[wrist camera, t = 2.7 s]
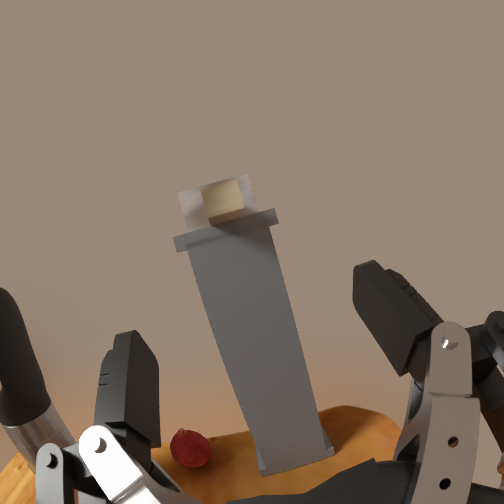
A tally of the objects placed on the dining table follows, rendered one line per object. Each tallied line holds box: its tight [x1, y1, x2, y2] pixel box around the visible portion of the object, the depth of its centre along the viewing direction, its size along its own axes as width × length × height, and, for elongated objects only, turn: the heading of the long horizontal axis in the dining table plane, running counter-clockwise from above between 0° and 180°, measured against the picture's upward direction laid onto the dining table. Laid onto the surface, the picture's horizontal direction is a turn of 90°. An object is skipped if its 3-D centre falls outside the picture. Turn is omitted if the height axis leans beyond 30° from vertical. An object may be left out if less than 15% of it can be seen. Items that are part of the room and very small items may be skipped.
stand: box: [173, 208, 335, 477], centre depth 30 cm, size 10×6×32 cm, turn 95°
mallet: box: [178, 174, 258, 233], centre depth 25 cm, size 7×14×4 cm, turn 7°
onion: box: [170, 428, 211, 468], centre depth 32 cm, size 6×6×8 cm
